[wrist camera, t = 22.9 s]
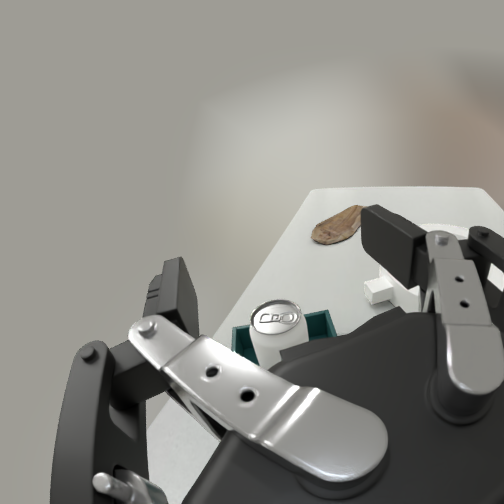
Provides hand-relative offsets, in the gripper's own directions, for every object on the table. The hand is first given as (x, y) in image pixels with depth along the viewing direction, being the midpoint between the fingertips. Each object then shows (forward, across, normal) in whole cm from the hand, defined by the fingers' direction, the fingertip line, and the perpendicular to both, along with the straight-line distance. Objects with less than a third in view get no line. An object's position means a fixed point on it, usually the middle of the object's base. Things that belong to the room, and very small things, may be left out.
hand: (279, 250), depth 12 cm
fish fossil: (+54, -30, +27) cm, 67 cm away
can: (+12, -1, +27) cm, 29 cm away
